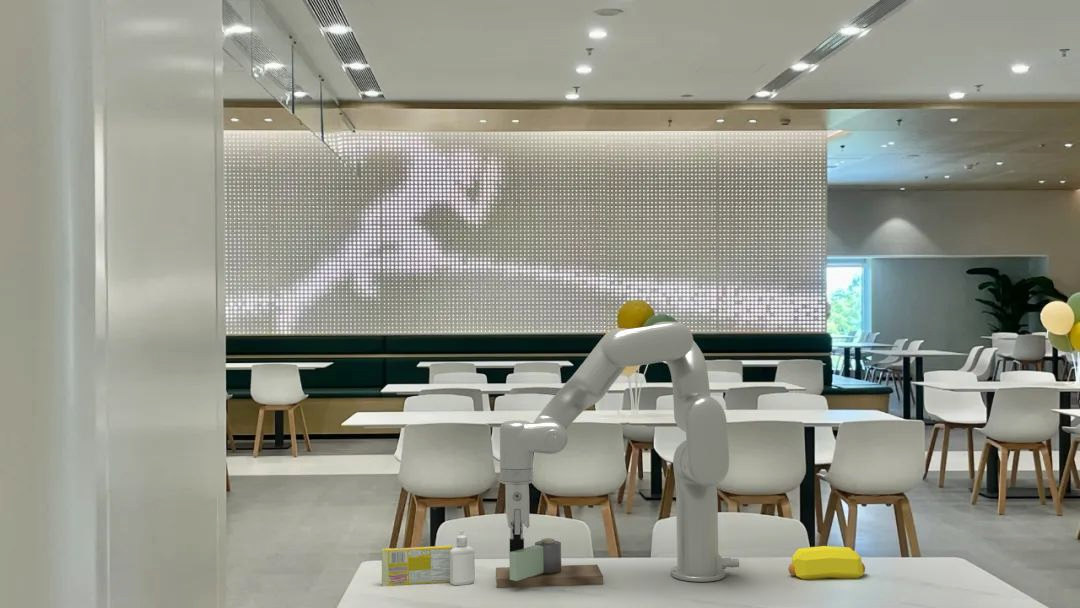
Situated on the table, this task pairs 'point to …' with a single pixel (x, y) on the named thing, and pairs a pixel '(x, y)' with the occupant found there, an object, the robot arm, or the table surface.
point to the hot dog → (826, 563)
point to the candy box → (416, 565)
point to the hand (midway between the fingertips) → (516, 556)
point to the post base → (553, 577)
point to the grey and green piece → (536, 559)
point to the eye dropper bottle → (462, 562)
